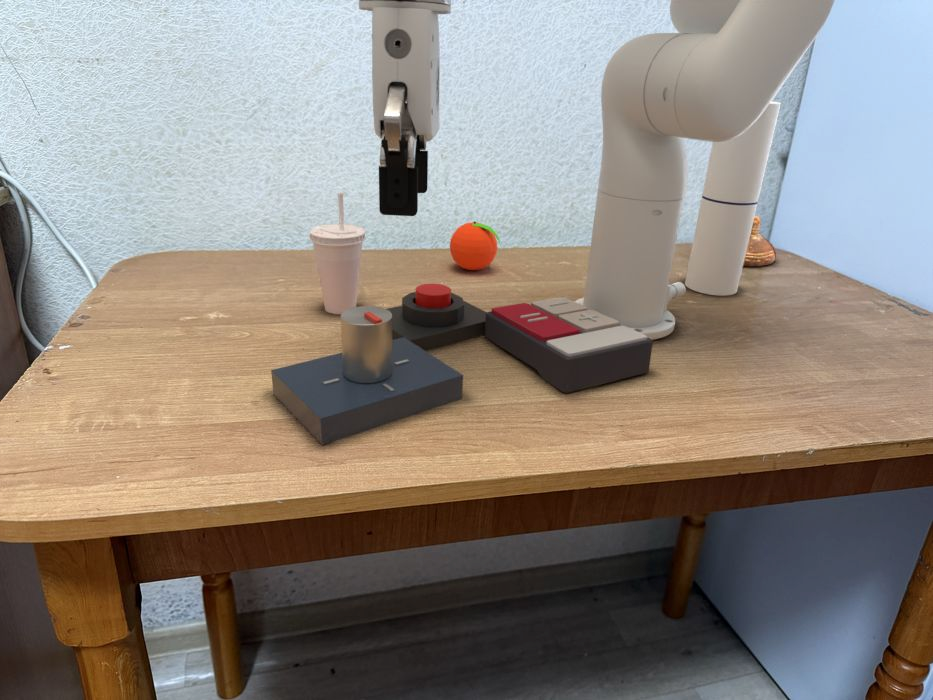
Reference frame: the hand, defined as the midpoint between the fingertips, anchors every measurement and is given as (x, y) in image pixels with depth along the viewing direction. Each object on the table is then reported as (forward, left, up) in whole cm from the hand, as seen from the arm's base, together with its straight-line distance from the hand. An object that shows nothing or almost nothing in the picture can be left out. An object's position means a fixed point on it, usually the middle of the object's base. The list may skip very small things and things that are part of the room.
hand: (405, 202), depth 60 cm
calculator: (-15, +8, -16) cm, 24 cm away
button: (-7, -5, -13) cm, 16 cm away
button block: (-7, -5, -16) cm, 18 cm away
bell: (-68, -4, -16) cm, 70 cm away
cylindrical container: (-50, +3, -16) cm, 53 cm away
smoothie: (-1, -16, -16) cm, 23 cm away
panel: (+7, +5, -16) cm, 18 cm away
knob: (+7, +5, -14) cm, 16 cm away
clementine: (-25, -20, -16) cm, 36 cm away
